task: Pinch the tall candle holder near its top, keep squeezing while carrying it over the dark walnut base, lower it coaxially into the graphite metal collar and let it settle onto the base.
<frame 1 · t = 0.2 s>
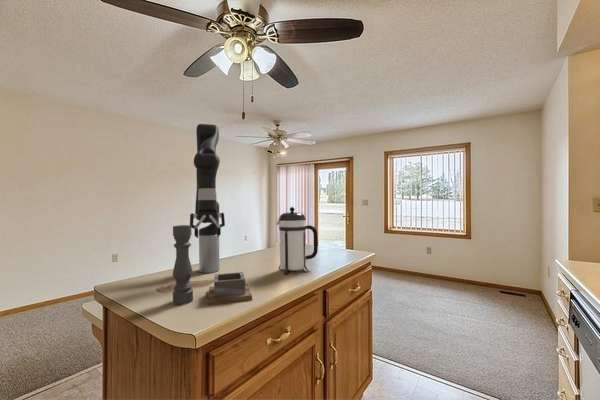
hand: (207, 237, 118), 18 cm above the counter, tool pointing down, fingers open, 8 cm apart
collar socket: (229, 295, 96), on the counter
coffee press: (295, 270, 130), on the counter
candle holder: (183, 301, 91), on the counter
fish fossil: (194, 286, 109), on the counter
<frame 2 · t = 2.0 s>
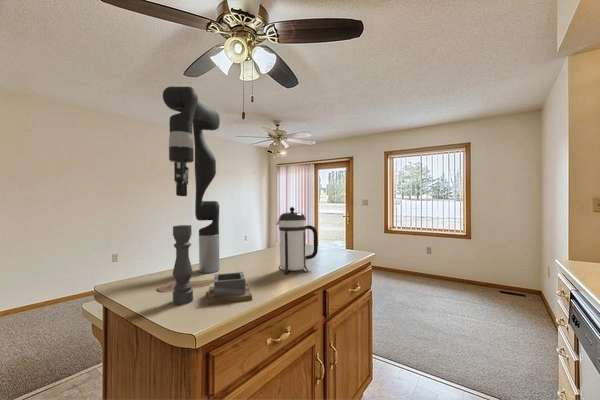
hand: (181, 196, 91), 35 cm above the counter, tool pointing down, fingers open, 8 cm apart
nothing on the counter moved.
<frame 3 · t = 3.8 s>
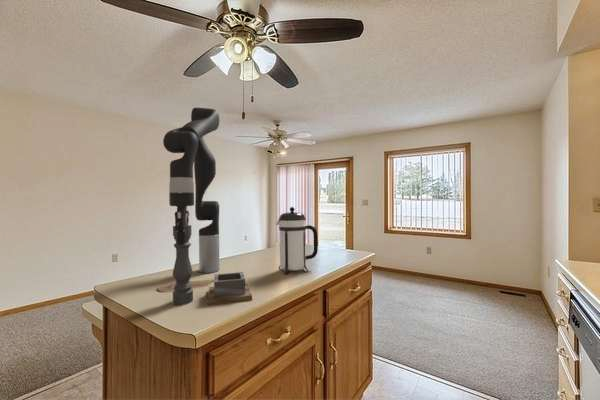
hand: (182, 242, 91), 20 cm above the counter, tool pointing down, fingers closed on candle holder, 5 cm apart
candle holder: (183, 301, 91), on the counter, touching gripper
everything else where it was.
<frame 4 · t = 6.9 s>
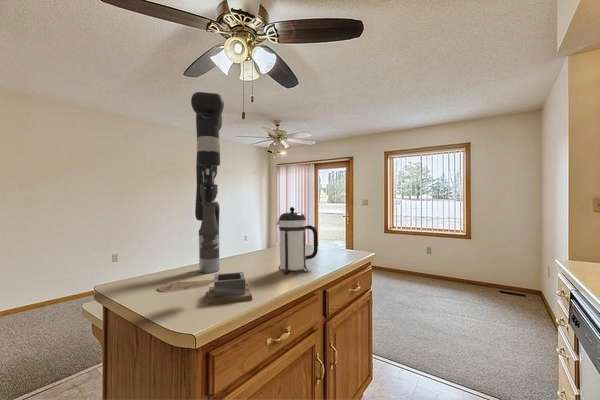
hand: (209, 200, 94), 33 cm above the counter, tool pointing down, fingers closed on candle holder, 5 cm apart
candle holder: (209, 258, 94), point 14 cm above the counter, touching gripper
everything else where it was.
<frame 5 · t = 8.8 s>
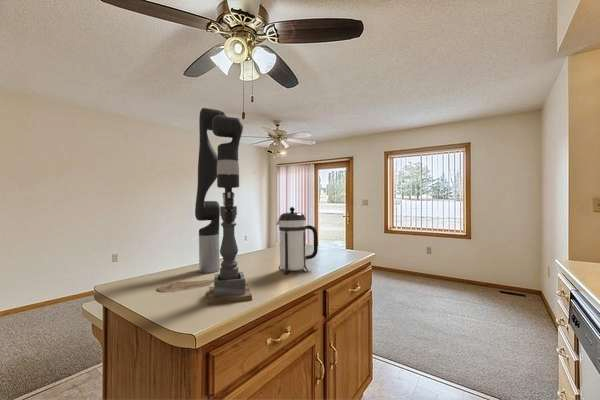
hand: (228, 221, 97), 26 cm above the counter, tool pointing down, fingers closed on candle holder, 5 cm apart
candle holder: (229, 278, 97), point 6 cm above the counter, touching gripper
everything else where it was.
when the fingers open (22 cm above the counter, at t = 10.1 s): candle holder drops 1 cm, resting on collar socket.
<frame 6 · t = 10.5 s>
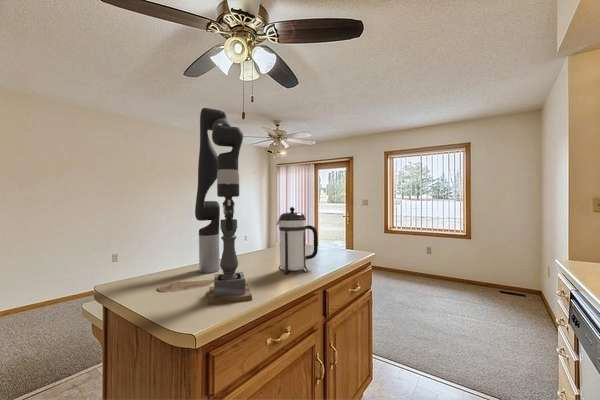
hand: (228, 229, 96), 23 cm above the counter, tool pointing down, fingers open, 8 cm apart
candle holder: (229, 291, 97), point 1 cm above the counter, touching collar socket
everything else where it was.
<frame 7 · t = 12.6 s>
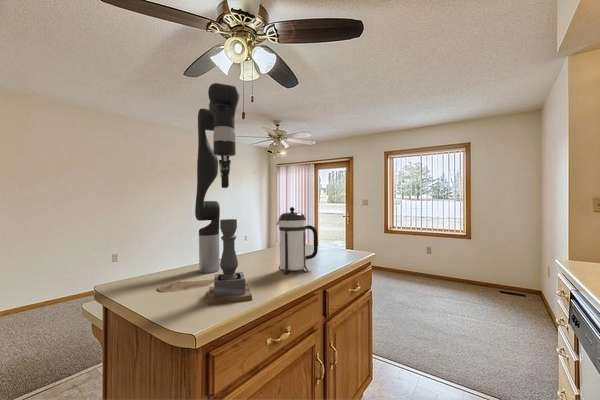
hand: (224, 187, 97), 38 cm above the counter, tool pointing down, fingers open, 8 cm apart
nothing on the counter moved.
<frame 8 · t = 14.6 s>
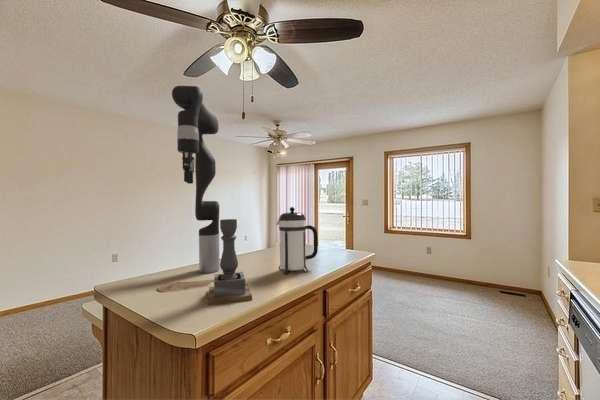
hand: (188, 182, 103), 40 cm above the counter, tool pointing down, fingers open, 8 cm apart
nothing on the counter moved.
at the end: candle holder 0.2 cm off-centre on the collar socket, point 1.3 cm above the collar socket's base; candle holder tilted 0°; the gripper is holding nothing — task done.
